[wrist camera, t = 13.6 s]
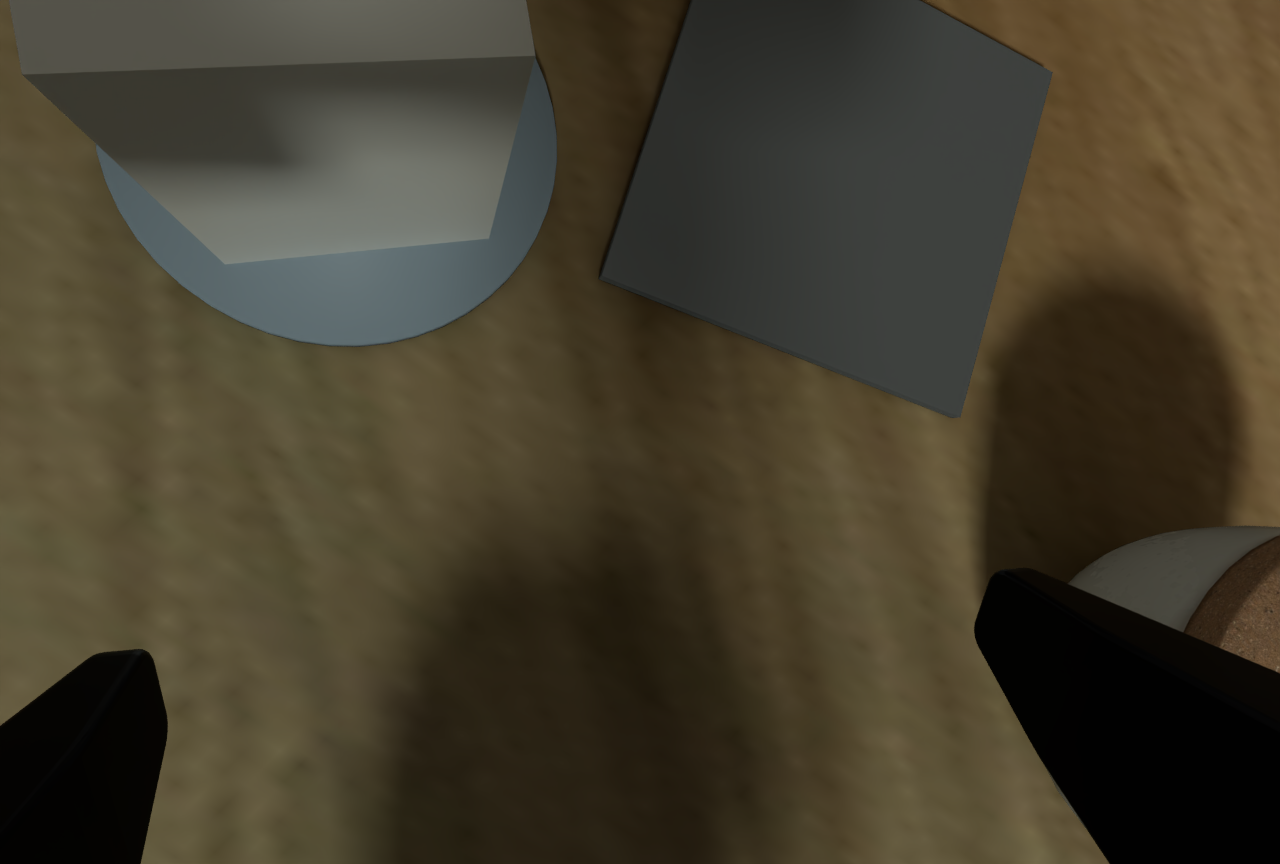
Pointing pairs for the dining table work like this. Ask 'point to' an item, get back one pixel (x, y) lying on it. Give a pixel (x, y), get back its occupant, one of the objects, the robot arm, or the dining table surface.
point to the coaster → (362, 257)
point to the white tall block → (294, 112)
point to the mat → (834, 185)
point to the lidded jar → (1199, 587)
